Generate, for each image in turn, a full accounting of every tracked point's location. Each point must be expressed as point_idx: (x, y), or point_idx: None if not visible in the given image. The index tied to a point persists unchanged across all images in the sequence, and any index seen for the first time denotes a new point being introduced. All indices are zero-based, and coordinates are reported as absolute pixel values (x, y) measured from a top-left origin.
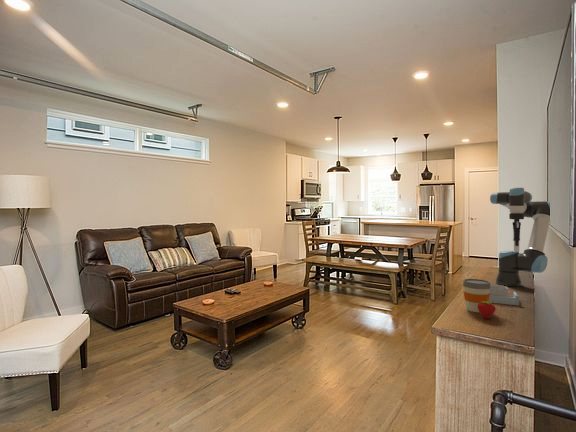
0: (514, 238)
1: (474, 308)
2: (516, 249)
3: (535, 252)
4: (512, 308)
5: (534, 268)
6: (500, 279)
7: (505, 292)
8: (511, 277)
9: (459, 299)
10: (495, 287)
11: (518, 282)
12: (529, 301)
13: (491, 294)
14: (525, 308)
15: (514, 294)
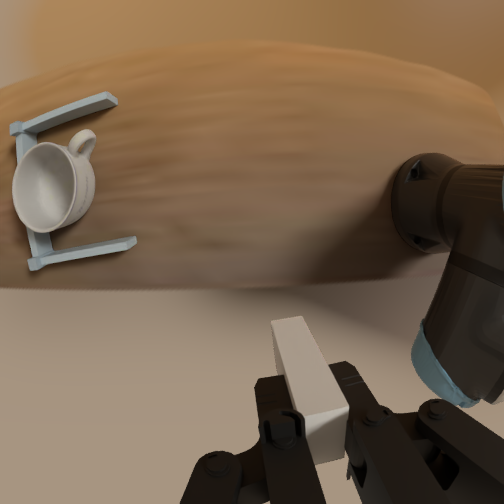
0: (219, 467)
1: None
2: (276, 355)
3: (490, 381)
4: (9, 245)
5: (417, 339)
6: (421, 171)
7: (35, 223)
8: (421, 219)
9: (25, 84)
10: (78, 174)
11: (418, 243)
12: (128, 290)
13: (30, 174)
14: (31, 279)
15: (84, 249)
